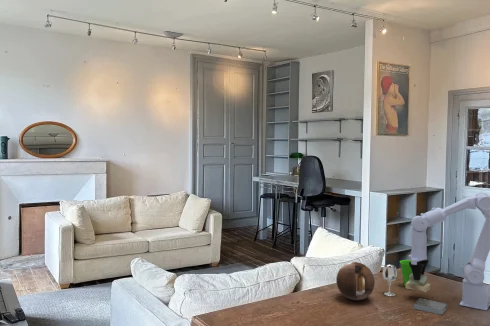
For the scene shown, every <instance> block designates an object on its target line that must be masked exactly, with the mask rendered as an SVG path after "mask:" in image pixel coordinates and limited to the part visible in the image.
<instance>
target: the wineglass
mask: <svg viewBox="0 0 490 326" xmlns="http://www.w3.org/2000/svg"><path fill="white" fill-rule="evenodd" d="M397 277H398V270H397V266H396V265H394V264H385V265H384V266H383V268H382V278H383V279H384V280H386V281H387V282H388V292H384V293H383V295H385V296H387V297H395V296H396V294H395V293H393V292H391V286H392V283H391V282H394V281H396V280H397Z"/></svg>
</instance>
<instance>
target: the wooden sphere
mask: <svg viewBox="0 0 490 326" xmlns="http://www.w3.org/2000/svg"><path fill="white" fill-rule="evenodd" d="M335 278H336V279H335V280H336V281H335V282H336V286H337V288H338V290H339V292H340V293H341V294H342V295H343V296H344V297H345V298H346V299H348V300H351V301H362V300H365V299H366V298H368V297H370V295H371V294H372V293H373V291H374V289H375V277H374V273H373V272H372V270H371V269H370V268H369V267H368V266H367V265H365V264H364V263H361V262H357V261H352V262H351V261H350V262H348V263H346V264H343V265H342V266H341V267H340V268H339V270H338V271H337V274H336V277H335Z"/></svg>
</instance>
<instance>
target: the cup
mask: <svg viewBox="0 0 490 326" xmlns="http://www.w3.org/2000/svg"><path fill="white" fill-rule="evenodd" d="M409 262H411V259H403V260H400V261H399V263H400V268H401V269H400V270H401V274H402V281H403V285H404V288H406V283H407V282H408V281H409V277H410V274H412V269H411V267H410V265H409Z"/></svg>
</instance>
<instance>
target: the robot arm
mask: <svg viewBox="0 0 490 326" xmlns="http://www.w3.org/2000/svg"><path fill="white" fill-rule="evenodd" d="M466 209H469V210H470V209H471V210H477V209H478V210H479V211H480V212H481V214H482V215H483V217H484V219H485V221H484V224H483V225H482V229H481V230H480V234H479V236H478V239H477V241H476V244H475V247H474V249H473V252H472V254H471V256H470V257H469V259H468V261H467V262H466V263H465V264H464V265H463V268H462V273H463V275H464V278H462V292H461V293H462V295H461V296H462V297H461V299H462V300H461V301H460V303H459V306H462V307H467V308H472V309H477V310H481V311H482V310H483V311H488V309H489V307H490V285H489V284H485V283H484V281H485V273H484V272H485V269H486V262H487V258H488V256H489V253H490V195H489V194H486V193H483V192H480V193H476V194H475V195H470V196H468V197H464V198H463V199H461V200H458V201H457V202H454V203H452V204H450V205H448V206H446V207H444V208H441V207H432V208H431V210H428V211H427V212H425V213H423V212H422V213H420V215H415V216H414V217H412V219H411V221H410V223H411V227H412V229H411V252H410V253H411V254H409V255H408V258H410V260H411V262H409V265H410V267H411V269H412V273H413V277H414V280H418V281H419V280H420V278H421V274H422V275H425V272H426V269H427V265H428V263H429V259H428V256H427V253H428V251H427V246H428V245H427V241H428V235H427V229H428V227H429V228H431V227H433V226H435V225H437V224H440V223H443V222H445V221H446V219H447V217H448V216H450V215H451V216H452V215H453V214H456V213H459V212H462V211H464V210H466Z"/></svg>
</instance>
